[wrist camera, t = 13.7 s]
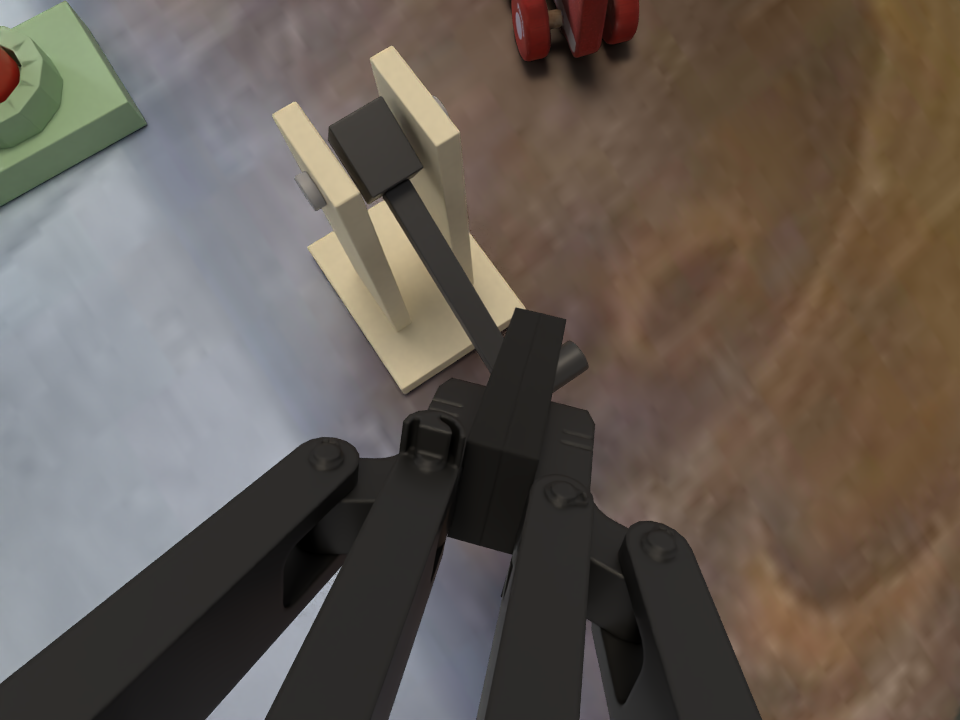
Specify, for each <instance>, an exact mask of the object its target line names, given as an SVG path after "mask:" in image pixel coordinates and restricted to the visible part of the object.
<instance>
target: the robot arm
mask: <svg viewBox="0 0 960 720" xmlns="http://www.w3.org/2000/svg"><path fill="white" fill-rule="evenodd" d="M565 324H566V319H563V318H558V317H554V316H550V315H546V314H542V313H538V312H534V311H529V310H525V309H521V308H517V307H515V310H514V313H513V315H512V318H511V321H510V324H509V326H508V329H507V332H506V334H505V337H504V340H503V343H502V345H501V348H500V351H499V354H498V356H497V359H496V362H495V364H494V367H493V370H492V373H491V375H490V378H489V381H488V383H487V386H483V385H479V384H475V383H471V382H467V381H463V380H459V379H455V378H451V379H449V380H448V381H446V382H445V383H443V384H442V385H440V386H439V388H438V390H437V392H436V394H435V396H434V398H433V400H432V402H431V404H430V406H429V409H428V410H423V411H418V412H415V413H413V414H410V415H409V416H408V417H407V418H406V419H405V420H404V421H403V428H402V435H401V443H400V451H399V454H397V455H395V456H392V457H387V458H359V453H358V452H357V450H356V448H355V447H354V446H353V445H351V444H350V443H348V442H347V441H344V440H341V439H337V438H330V437H321V438H316V439H311V440H309V441H307V442H305V443H303V444H301V445H300V446H299V447H297V448H296V449H295V450H294V451H292V452H291V453H290V454H289V455H287V456H286V457H285V458H284V459H282V460H281V461H280V462H278V463H277V464H276V465H275V466H273V467H272V468H271V469H270V470H268V471H267V472H266V473H265V474H263V475H262V476H261V477H260V478H258V479H257V480H256V481H255V482H253V483H252V484H251V485H250V486H248V487H247V488H246V489H245V490H243V491H242V492H241V493H239V494H238V495H237V496H236V497H234V498H233V499H232V500H231V501H229V502H228V503H227V504H226V505H224V506H223V507H222V508H221V509H219V510H218V511H217V512H216V513H214V514H213V515H212V516H211V517H209V518H208V519H207V520H206V521H204V522H203V523H202V524H201V525H199V526H198V527H197V528H195V529H194V530H193V531H192V532H190V533H189V534H188V535H187V536H185V537H184V538H183V539H182V540H180V541H179V542H178V543H177V544H175V545H174V546H173V547H172V548H170V549H169V550H168V551H167V552H165V553H164V554H163V555H162V556H160V557H159V558H158V559H157V560H155V561H154V562H153V563H151V564H150V565H149V566H148V567H146V568H145V569H144V570H143V571H141V572H140V573H139V574H138V575H136V576H135V577H134V578H133V579H131V580H130V581H129V582H128V583H126V584H125V585H124V586H123V587H121V588H120V589H119V590H118V591H116V592H115V593H114V594H113V595H111V596H110V597H109V598H107V599H106V600H105V601H104V602H102V603H101V604H100V605H99V606H97V607H96V608H95V609H94V610H92V611H91V612H90V613H89V614H87V615H86V616H85V617H84V618H82V619H81V620H80V621H79V622H77V623H76V624H75V625H74V626H72V627H71V628H70V629H68V630H67V631H66V632H65V633H63V634H62V635H61V636H60V637H58V638H57V639H56V640H55V641H53V642H52V643H51V644H50V645H48V646H47V647H46V648H45V649H43V650H42V651H41V652H40V653H38V654H37V655H36V656H35V657H33V658H32V659H31V660H30V661H28V662H27V663H26V664H24V665H23V666H22V667H21V668H19V669H18V670H17V671H16V672H14V673H13V674H12V675H11V676H9V677H8V678H7V679H6V680H4V681H3V682H2V683H1V684H0V720H205V719H206V718H207V717H208V716H209V715H210V714H211V713H212V711H213V710H214V709H215V708H216V707H217V706H218V705H219V704H220V702H221V701H222V700H223V699H224V698H225V697H226V696H227V695H228V693H229V692H230V691H231V690H232V689H233V688H234V687H235V686H236V684H237V683H238V682H239V681H240V680H241V679H242V678H243V677H244V675H245V674H246V673H247V672H248V671H249V670H250V669H251V667H252V666H253V665H254V664H255V663H256V662H257V661H258V660H259V658H260V657H261V656H262V655H263V654H264V653H265V652H266V651H267V649H268V648H269V647H270V646H271V645H272V644H273V643H274V642H275V640H276V639H277V638H278V637H279V636H280V635H281V634H282V633H283V631H284V630H285V629H286V628H287V627H288V626H289V625H290V624H291V622H292V621H293V620H294V619H295V618H296V617H297V616H298V615H299V613H300V612H301V611H302V610H303V609H304V608H305V607H306V606H307V604H308V603H309V602H310V601H311V600H312V599H313V598H314V597H315V595H316V594H317V593H318V592H319V591H320V590H321V589H322V588H323V586H324V585H325V584H326V583H327V582H328V581H329V580H330V579H331V577H332V576H333V575H334V574H335V573H336V572H337V571H338V570H339V568H340V567H341V566H342V567H341V569H340V571H339V573H338V575H337V577H336V579H335V581H334V583H333V585H332V587H331V589H330V591H329V593H328V595H327V597H326V599H325V601H324V603H323V605H322V607H321V609H320V611H319V613H318V615H317V617H316V619H315V621H314V623H313V625H312V627H311V629H310V631H309V633H308V634H307V636H306V638H305V640H304V642H303V644H302V646H301V648H300V650H299V652H298V654H297V656H296V658H295V660H294V662H293V664H292V666H291V668H290V670H289V672H288V674H287V676H286V678H285V680H284V682H283V684H282V686H281V688H280V690H279V692H278V694H277V696H276V698H275V700H274V702H273V704H272V706H271V708H270V710H269V712H268V714H267V716H266V718H265V720H388V719H389V716H390V713H391V710H392V707H393V704H394V701H395V698H396V695H397V692H398V689H399V686H400V683H401V679H402V676H403V673H404V670H405V667H406V664H407V661H408V658H409V655H410V652H411V649H412V646H413V643H414V640H415V637H416V634H417V631H418V628H419V625H420V622H421V619H422V616H423V613H424V610H425V607H426V604H427V601H428V598H429V595H430V592H431V589H432V586H433V583H434V580H435V577H436V574H437V571H438V568H439V565H440V562H441V559H442V555H443V551H444V545H445V540H446V537H450V538H454V539H458V540H461V541H465V542H468V543H472V544H476V545H479V546H483V547H486V548H490V549H494V550H497V551H501V552H505V553H508V554H512V559H511V562H510V566H509V569H508V573H507V577H506V580H505V584H504V587H503V591H502V594H501V597H502V601H501V606H500V610H499V615H498V620H497V624H496V629H495V634H494V638H493V643H492V648H491V652H490V657H489V662H488V667H487V671H486V676H485V681H484V685H483V690H482V695H481V699H480V704H479V709H478V713H477V718H476V720H579V717H580V703H581V688H582V674H583V659H584V645H585V630H586V619H588V620H590V621H591V622H592V627H591V629H592V634H593V639H594V644H595V649H596V653H597V658H598V663H599V668H600V672H601V677H602V682H603V687H604V692H605V696H606V701H607V706H608V711H609V715H610V720H762V718H761V716H760V713H759V711H758V709H757V706H756V704H755V701H754V699H753V696H752V694H751V692H750V689H749V687H748V684H747V682H746V679H745V677H744V675H743V672H742V670H741V667H740V665H739V662H738V660H737V658H736V655H735V653H734V650H733V648H732V645H731V643H730V641H729V638H728V636H727V633H726V631H725V629H724V626H723V624H722V621H721V619H720V616H719V614H718V612H717V609H716V607H715V604H714V602H713V599H712V597H711V595H710V592H709V590H708V587H707V585H706V582H705V580H704V578H703V575H702V573H701V570H700V568H699V565H698V563H697V561H696V558H695V556H694V553H693V551H692V549H691V547H690V546H689V544H688V542H687V541H686V539H685V538H684V537H683V536H681V535H680V534H679V533H678V532H677V531H676V530H674V529H672V528H670V527H668V526H666V525H664V524H662V523H658V522H653V521H639V522H637V523H635V524H633V525H631V526H630V527H629V529H628V528H626V527H625V526H623V525H621V524H619V523H617V522H615V521H614V520H612V519H610V518H609V517H607V516H606V515H605V514H604V513H603V512H601V511H600V510H599V509H598V507H597V506H596V505H595V503H594V501H593V496H592V494H591V492H590V484H591V471H592V457H593V444H594V431H595V424H594V422H593V420H592V418H591V416H590V414H589V412H588V411H587V410H583V409H579V408H575V407H571V406H567V405H563V404H559V403H555V402H551V397H552V392H553V387H554V382H555V376H556V371H557V366H558V361H559V355H560V350H561V345H562V340H563V334H564V329H565ZM447 534H448V536H447Z"/></svg>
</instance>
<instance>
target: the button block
mask: <svg viewBox="0 0 960 720" xmlns="http://www.w3.org/2000/svg"><path fill="white" fill-rule="evenodd" d="M0 47H1V48H2V49H3V50H4V51H5V52H6V53H7V54H8V55H9V56H10V57H11V58H12V59H13V60H14V61H15V62H16V63H17V65H18V67H19V71H20V80H19V84H18V85H17V87H16V88H15V89H14V91H13V92H12V93H11V94H10V96H9V97H8V98H7V100H6V101H4V102H2V103H0V206H2V205H4V204H5V203H7V202H9V201H11V200H13V199H14V198H16V197H18V196H20V195H22V194H23V193H25V192H27V191H29V190H31V189H32V188H34V187H36V186H38V185H39V184H41V183H43V182H45V181H47V180H48V179H50V178H52V177H54V176H56V175H57V174H59V173H61V172H63V171H65V170H66V169H68V168H70V167H72V166H74V165H75V164H77V163H79V162H81V161H82V160H84V159H86V158H88V157H90V156H91V155H93V154H95V153H97V152H99V151H100V150H102V149H104V148H106V147H108V146H109V145H111V144H113V143H115V142H116V141H118V140H120V139H122V138H124V137H125V136H127V135H129V134H131V133H133V132H134V131H136V130H138V129H140V128H142V127H143V126H145V125H147V123H146V121H145V119H144V118H143V116H142V115H141V113H140V111H139V110H138V108H137V106H136V105H135V103H134V102H133V100H132V98H131V97H130V95H129V94H128V92H127V90H126V89H125V87H124V85H123V84H122V82H121V81H120V79H119V77H118V76H117V74H116V73H115V71H114V69H113V68H112V66H111V64H110V63H109V61H108V60H107V58H106V56H105V55H104V53H103V52H102V50H101V48H100V47H99V45H98V43H97V42H96V40H95V39H94V37H93V35H92V34H91V32H90V31H89V29H88V27H87V26H86V25H85V24H84V22H83V21H82V20H81V19H80V17H79V16H78V15H77V14H76V12H75V11H74V10H73V9H72V7H71V6H70V5H69V4H68V2H66V1H64V2H62V3H60V4H58V5H56V6H54V7H52V8H50V9H48V10H46V11H44V12H42V13H40V14H39V15H37V16H35V17H33V18H31V19H29V20H27V21H25V22H23V23H21V24H19V25H17V26H16V27H14V28H12V29H10V28H8V27H5V26H0Z"/></svg>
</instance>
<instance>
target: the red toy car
mask: <svg viewBox="0 0 960 720" xmlns="http://www.w3.org/2000/svg"><path fill="white" fill-rule="evenodd" d="M554 2H555V4H556V8H557V9H556V10H549V11H548V9H547V4H546V0H512V5H511V7H512V19H513V27H514V33H515V38H516V43H517V46H518V49H519V52H520V54H521V57H522V58H523V59H524V60H525V61H532V60H536V59H542V58H544V57H546V56H547V55H548V53H549V50H550V46H551V34H550V29H554V28H561V31H562V33H563V35H564V36H565V37H566V39H567V41H568V44H569V47H570V50H571V52H572V54H573V56H574V57H577V58H578V57H581V56H585V55H588V54H592V53H595V52H597V51H598V50H599V48H600V46H601V41H602V37H603V39H604V41H605V42H606V43H608V44H616V43H621V42H625V41H628V40H630V39H632V37H633V36H634V34H635V33H636V30H637V26H638V22H639V0H554Z"/></svg>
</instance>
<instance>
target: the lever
mask: <svg viewBox="0 0 960 720" xmlns="http://www.w3.org/2000/svg"><path fill="white" fill-rule="evenodd" d="M328 141H329V143H330V145H331V146H332V148H333V149H334V151H335V153H336V154H337V156H338V157H339V159H340V161H341V162H342V164H343V165H344V167H345V169H346V170H347V172H348V174H349V175H350V177H351V178H352V180H353V182H354V183H355V185H356V186H357V188H358V190H359V191H360V193H361V194H362V196H363V198H364V199H365V201H366V202H367V204H370V203H372V202H373V201H375V200H376V199H378V198H380V197H381V196H383V199H384V200H385V202H386V204H387V205H388V207H389V209H390V210H391V212H392V213H393V215H394V217H395V218H396V220H397V222H398V223H399V225H400V226H401V228H402V230H403V231H404V233H405V235H406V236H407V238H408V240H409V241H410V243H411V244H412V246H413V248H414V249H415V251H416V253H417V254H418V256H419V258H420V259H421V261H422V262H423V264H424V266H425V267H426V269H427V271H428V272H429V274H430V275H431V277H432V279H433V280H434V282H435V284H436V285H437V287H438V289H439V290H440V292H441V293H442V295H443V297H444V298H445V300H446V302H447V303H448V305H449V306H450V308H451V310H452V311H453V313H454V315H455V316H456V318H457V320H458V321H459V323H460V324H461V326H462V328H463V329H464V331H465V333H466V334H467V336H468V337H469V339H470V341H471V342H472V344H473V346H474V347H475V349H476V351H477V352H478V354H479V355H480V357H481V359H482V360H483V362H484V364H485V365H486V367H487V368H488V370H489V372H490V373H492V370H493V367H494V364H495V362H496V359H497V356H498V354H499V351H500V348H501V345H502V343H503V340H504V337H503V335H502V334H501V332H500V330H499V329H498V327H497V325H496V324H495V322H494V320H493V319H492V317H491V315H490V314H489V312H488V310H487V309H486V307H485V305H484V303H483V302H482V300H481V298H480V297H479V295H478V293H477V292H476V290H475V288H474V287H473V285H472V283H471V282H470V280H469V278H468V277H467V275H466V273H465V272H464V270H463V268H462V267H461V265H460V263H459V262H458V260H457V258H456V257H455V255H454V253H453V251H452V250H451V248H450V246H449V245H448V243H447V241H446V240H445V238H444V236H443V235H442V233H441V231H440V230H439V228H438V226H437V225H436V223H435V221H434V220H433V218H432V216H431V215H430V213H429V211H428V210H427V208H426V206H425V205H424V203H423V201H422V199H421V198H420V196H419V194H418V193H417V191H416V189H415V188H414V186H413V184H412V183H411V181H410V180H409V179H411V178H413V177H414V176H415V175H416V174H417V173H418V172H419V171H420V170H422V169H423V165H422V163H421V161H420V160H419V158H418V156H417V154H416V153H415V151H414V149H413V148H412V146H411V144H410V143H409V141H408V139H407V137H406V136H405V134H404V132H403V131H402V129H401V127H400V125H399V124H398V122H397V120H396V119H395V117H394V115H393V114H392V112H391V110H390V108H389V107H388V105H387V103H386V102H385V100H384V98H383V97H382V96H380V97H378V98H377V99H375V100H373V101H372V102H370V103H368V104H366V105H365V106H363V107H361V108H360V109H358V110H356V111H354V112H353V113H351V114H349V115H348V116H346V117H344V118H342V119H341V120H339V121H337V122H336V123H334V124H332V125H330V126H329V132H328ZM588 367H589V366H588V362H587V360H586V358H585V356H584V354H583V353H582V351H581V350H580V349H579V348H578V346H577V345H576V344H574V343H573V342H572V341H567V342H566V343H564V344H563V345H561V350H560V355H559V361H558V366H557V371H556V376H555V382H554V387H553V392H555V391H556V390H558V389H559V388H561V387H562V386H564V385H565V384H567V383H568V382H570V381H571V380H573V379H574V378H575V377H577V376H578V375H580V374H581V373H583V372H584V371H586V370H587V369H588ZM553 392H552V393H553Z"/></svg>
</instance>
